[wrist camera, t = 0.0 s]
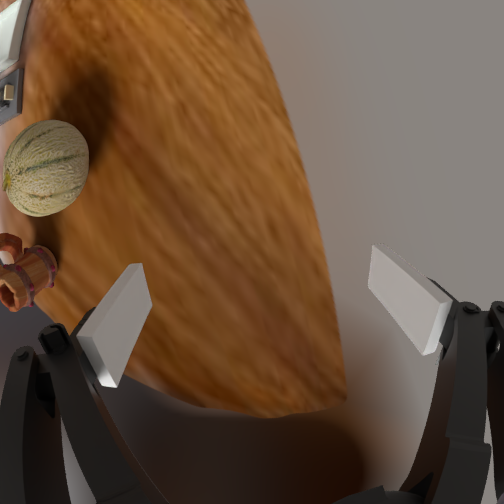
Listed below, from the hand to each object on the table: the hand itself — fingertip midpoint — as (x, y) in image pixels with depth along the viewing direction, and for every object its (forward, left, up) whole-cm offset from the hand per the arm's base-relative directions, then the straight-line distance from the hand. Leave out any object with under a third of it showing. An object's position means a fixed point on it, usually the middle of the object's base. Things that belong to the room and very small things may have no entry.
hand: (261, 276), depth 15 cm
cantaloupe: (-9, -29, -28) cm, 42 cm away
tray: (-44, -53, -28) cm, 75 cm away
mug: (+6, -41, -28) cm, 50 cm away
